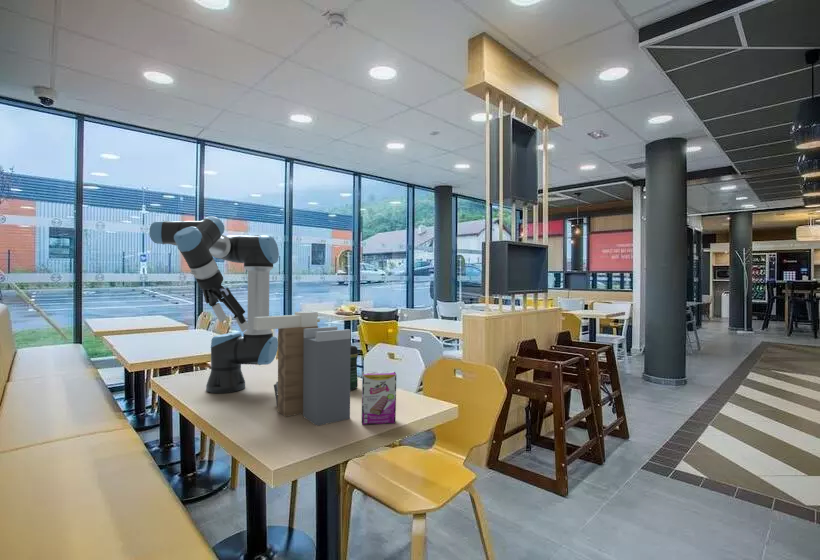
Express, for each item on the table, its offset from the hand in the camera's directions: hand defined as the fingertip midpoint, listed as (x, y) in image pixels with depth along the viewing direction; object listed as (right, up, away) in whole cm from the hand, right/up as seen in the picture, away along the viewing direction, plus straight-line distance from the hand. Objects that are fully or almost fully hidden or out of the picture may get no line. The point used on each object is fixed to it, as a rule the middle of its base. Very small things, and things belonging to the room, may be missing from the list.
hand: (234, 324), depth 149 cm
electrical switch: (+15, -31, +12) cm, 36 cm away
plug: (+19, -1, +1) cm, 19 cm away
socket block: (+33, -31, -4) cm, 45 cm away
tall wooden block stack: (+21, -31, +3) cm, 38 cm away
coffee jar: (+34, -31, +35) cm, 58 cm away
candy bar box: (+51, -32, -8) cm, 60 cm away
